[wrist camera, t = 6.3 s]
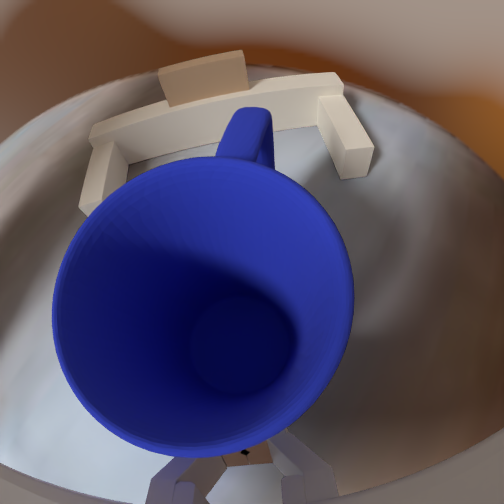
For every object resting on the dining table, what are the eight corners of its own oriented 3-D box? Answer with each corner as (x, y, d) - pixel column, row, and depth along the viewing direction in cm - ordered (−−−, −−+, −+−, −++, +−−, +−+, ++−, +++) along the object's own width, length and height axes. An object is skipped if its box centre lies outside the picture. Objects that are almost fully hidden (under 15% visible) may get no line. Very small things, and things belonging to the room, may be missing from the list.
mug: (334, 230, 18) (360, 95, 9) (299, 434, 13) (316, 496, 4) (209, 214, 20) (158, 89, 11) (154, 396, 15) (21, 381, 6)
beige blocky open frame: (99, 228, 21) (46, 171, 14) (112, 155, 24) (77, 98, 18) (366, 176, 20) (385, 97, 14) (332, 109, 24) (336, 40, 17)
